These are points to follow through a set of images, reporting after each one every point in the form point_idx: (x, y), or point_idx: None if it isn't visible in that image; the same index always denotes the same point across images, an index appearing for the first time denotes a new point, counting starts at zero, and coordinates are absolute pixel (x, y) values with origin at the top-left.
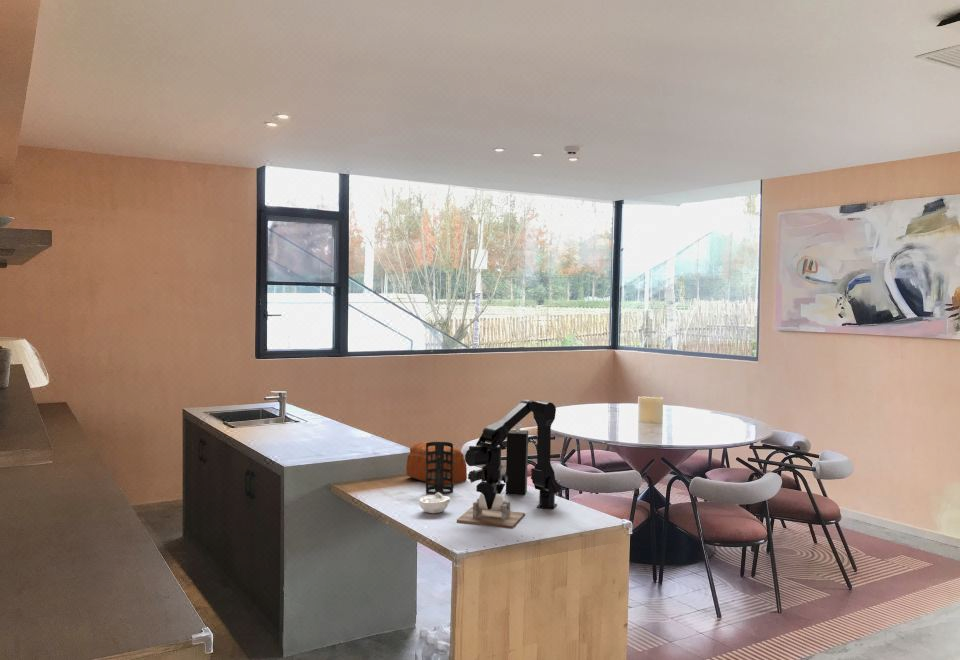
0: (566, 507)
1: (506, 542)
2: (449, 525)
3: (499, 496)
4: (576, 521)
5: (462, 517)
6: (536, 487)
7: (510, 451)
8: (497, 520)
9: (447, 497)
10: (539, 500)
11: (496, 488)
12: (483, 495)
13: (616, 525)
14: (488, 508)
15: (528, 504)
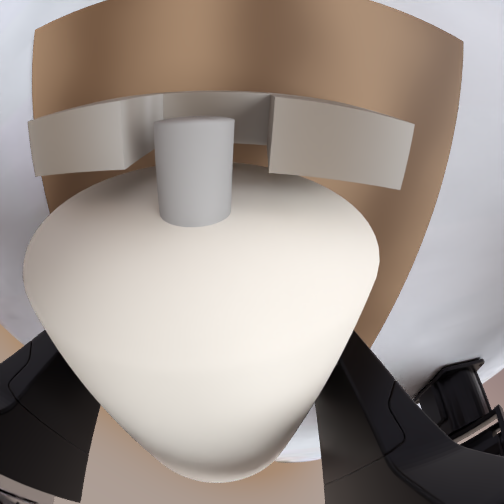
0: None
1: (7, 324)
2: (2, 38)
3: (157, 459)
4: (296, 440)
5: (88, 27)
6: (496, 414)
7: None
8: None
9: None
10: (462, 388)
11: (350, 500)
12: (64, 358)
13: (282, 460)
14: None
15: (496, 329)
